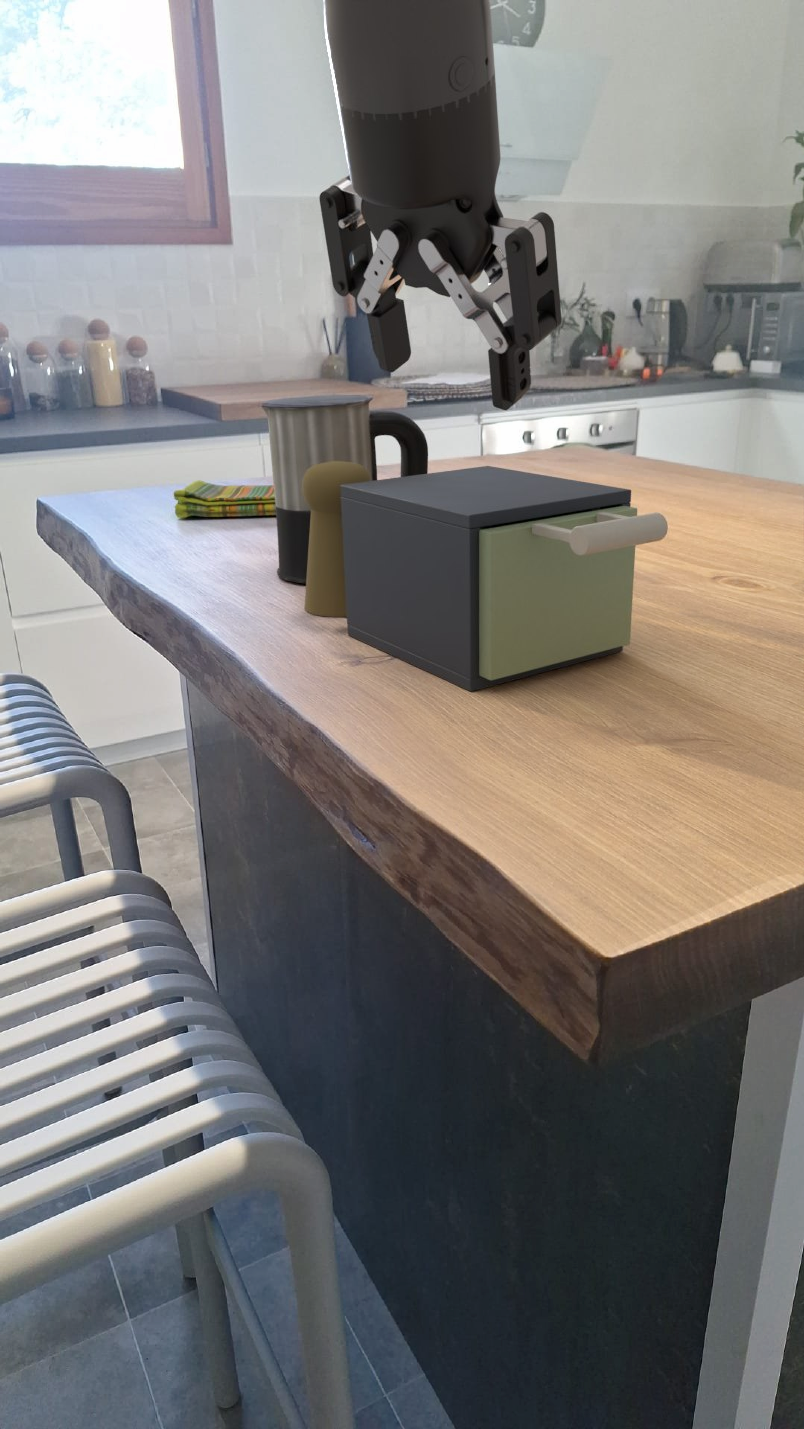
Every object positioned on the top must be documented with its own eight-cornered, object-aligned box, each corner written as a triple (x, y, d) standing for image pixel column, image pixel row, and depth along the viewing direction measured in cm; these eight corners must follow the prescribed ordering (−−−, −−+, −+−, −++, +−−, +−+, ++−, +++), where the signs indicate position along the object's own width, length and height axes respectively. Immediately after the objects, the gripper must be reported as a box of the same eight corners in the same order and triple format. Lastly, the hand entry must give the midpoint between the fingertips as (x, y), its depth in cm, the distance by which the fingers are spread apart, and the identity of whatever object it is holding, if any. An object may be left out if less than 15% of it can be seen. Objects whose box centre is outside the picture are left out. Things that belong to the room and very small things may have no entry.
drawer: (689, 664, 62) (702, 508, 58) (546, 705, 56) (550, 535, 53) (500, 601, 76) (501, 473, 73) (371, 629, 71) (365, 491, 67)
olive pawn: (295, 616, 77) (285, 469, 73) (314, 595, 83) (305, 457, 79) (373, 617, 76) (367, 468, 72) (387, 596, 82) (382, 456, 78)
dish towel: (196, 497, 129) (193, 471, 128) (477, 488, 129) (477, 462, 128) (172, 520, 115) (169, 492, 114) (488, 511, 115) (488, 482, 114)
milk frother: (306, 592, 84) (294, 405, 78) (226, 559, 96) (211, 395, 91) (446, 566, 91) (444, 393, 86) (355, 538, 103) (349, 385, 98)
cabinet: (623, 651, 67) (631, 489, 63) (470, 692, 61) (469, 515, 57) (487, 605, 79) (488, 465, 75) (347, 635, 72) (339, 484, 69)
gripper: (588, 59, 45) (589, 382, 58) (355, 32, 53) (400, 324, 65) (486, 125, 42) (510, 452, 54) (253, 87, 49) (320, 383, 62)
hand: (450, 382), depth 60 cm, fingers open, 8 cm apart
